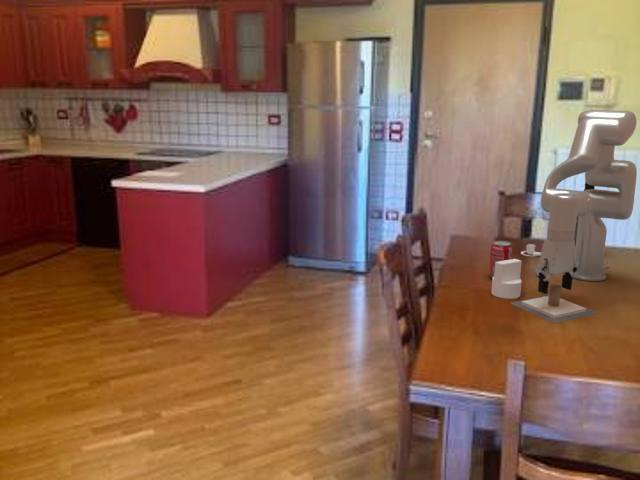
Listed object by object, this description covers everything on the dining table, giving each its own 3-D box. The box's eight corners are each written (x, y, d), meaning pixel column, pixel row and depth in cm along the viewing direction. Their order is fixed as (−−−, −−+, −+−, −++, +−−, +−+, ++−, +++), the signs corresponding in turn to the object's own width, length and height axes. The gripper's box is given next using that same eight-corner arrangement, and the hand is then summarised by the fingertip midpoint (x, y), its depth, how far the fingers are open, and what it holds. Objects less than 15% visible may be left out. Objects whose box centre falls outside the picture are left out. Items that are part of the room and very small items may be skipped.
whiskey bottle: (566, 251, 248) (574, 174, 240) (590, 252, 247) (600, 175, 239) (572, 257, 238) (581, 178, 230) (598, 259, 237) (608, 179, 229)
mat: (551, 297, 193) (551, 294, 193) (598, 316, 177) (598, 312, 177) (509, 306, 185) (509, 303, 185) (554, 326, 170) (554, 322, 169)
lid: (552, 298, 190) (554, 277, 188) (585, 311, 178) (588, 289, 177) (521, 304, 184) (523, 282, 182) (554, 318, 173) (556, 295, 171)
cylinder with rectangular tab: (505, 303, 188) (508, 267, 185) (485, 294, 195) (487, 259, 192) (526, 299, 192) (529, 263, 189) (505, 290, 200) (508, 256, 197)
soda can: (510, 281, 209) (514, 246, 205) (489, 280, 210) (492, 244, 207) (508, 275, 215) (511, 241, 212) (488, 274, 217) (490, 240, 213)
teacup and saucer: (544, 258, 240) (545, 248, 239) (524, 257, 240) (525, 248, 239) (537, 252, 248) (538, 242, 247) (518, 252, 248) (518, 242, 247)
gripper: (571, 230, 182) (565, 283, 186) (529, 235, 175) (523, 290, 179) (591, 235, 176) (585, 290, 180) (549, 240, 168) (542, 298, 172)
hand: (554, 290), depth 179 cm, fingers open, 9 cm apart
